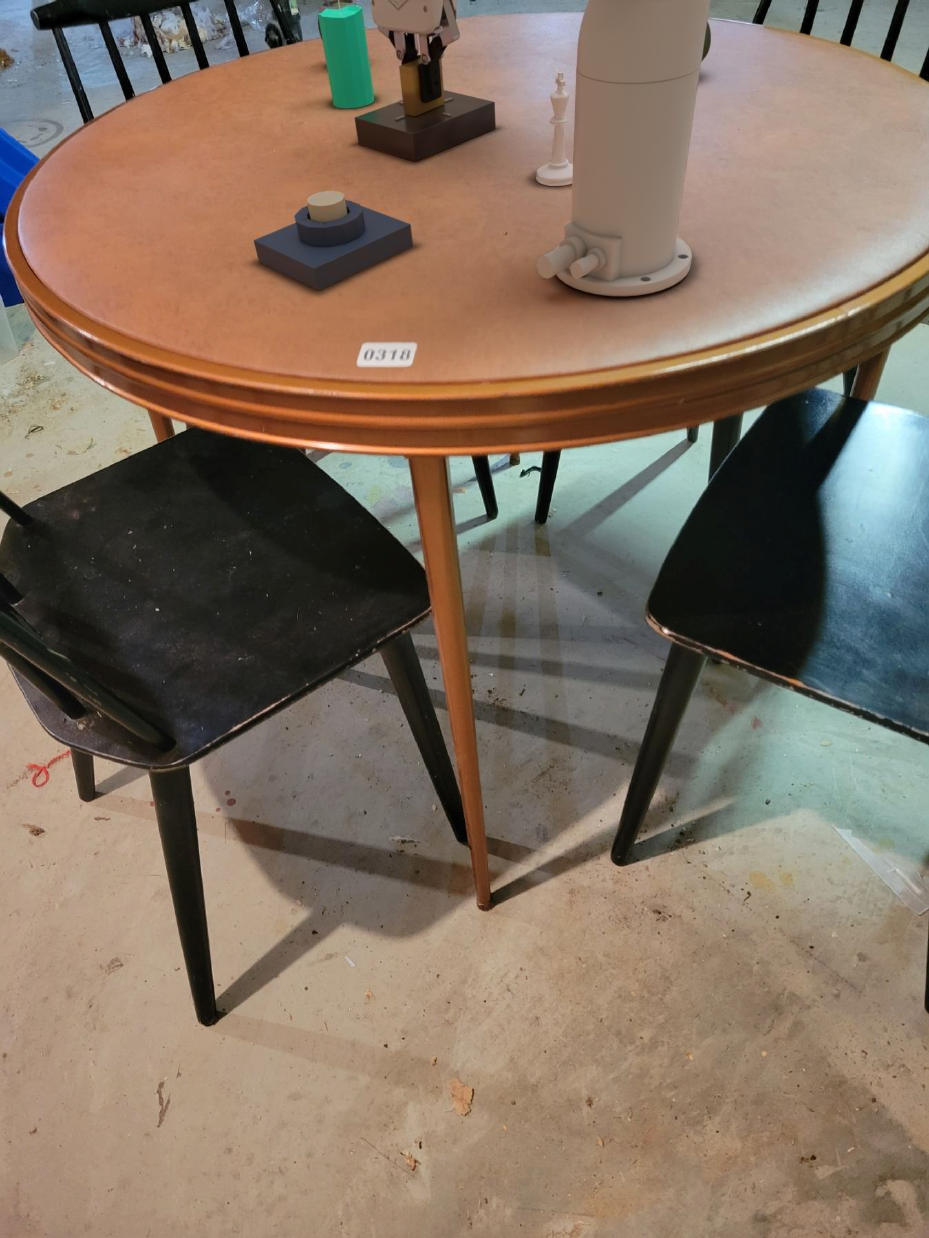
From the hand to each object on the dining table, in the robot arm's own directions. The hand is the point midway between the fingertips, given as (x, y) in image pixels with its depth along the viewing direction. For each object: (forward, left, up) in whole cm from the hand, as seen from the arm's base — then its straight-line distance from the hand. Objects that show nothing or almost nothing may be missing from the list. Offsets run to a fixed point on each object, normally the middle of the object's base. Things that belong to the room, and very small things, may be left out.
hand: (423, 97), depth 96 cm
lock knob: (0, 0, -1) cm, 1 cm away
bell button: (-29, -18, -1) cm, 34 cm away
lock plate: (0, 0, -4) cm, 4 cm away
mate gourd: (+15, +36, -5) cm, 39 cm away
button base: (-29, -18, -4) cm, 34 cm away
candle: (+4, +20, -5) cm, 21 cm away
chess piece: (-1, -23, -5) cm, 23 cm away
